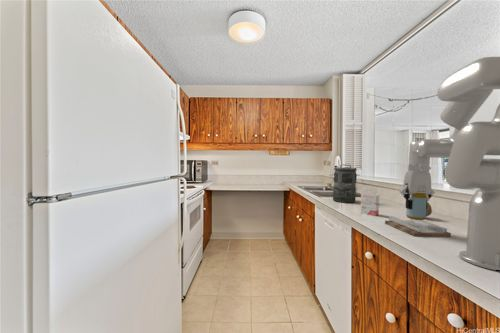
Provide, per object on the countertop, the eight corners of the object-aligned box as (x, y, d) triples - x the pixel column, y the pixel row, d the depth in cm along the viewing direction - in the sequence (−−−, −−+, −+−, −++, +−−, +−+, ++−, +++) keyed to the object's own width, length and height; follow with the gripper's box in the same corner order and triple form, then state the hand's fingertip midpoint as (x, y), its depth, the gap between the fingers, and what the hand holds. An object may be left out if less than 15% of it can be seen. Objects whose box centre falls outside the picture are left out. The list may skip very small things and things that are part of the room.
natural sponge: (407, 216, 128) (407, 198, 128) (417, 215, 131) (418, 198, 131) (424, 220, 120) (425, 201, 119) (434, 219, 123) (435, 201, 122)
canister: (355, 200, 174) (356, 164, 173) (355, 204, 160) (357, 165, 159) (333, 198, 181) (335, 164, 180) (331, 201, 166) (333, 164, 166)
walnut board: (450, 236, 93) (450, 233, 93) (413, 235, 92) (413, 232, 92) (416, 224, 111) (416, 221, 111) (384, 223, 110) (385, 220, 110)
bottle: (409, 215, 106) (411, 184, 106) (427, 219, 101) (429, 185, 100) (403, 217, 102) (405, 184, 102) (422, 221, 96) (424, 186, 96)
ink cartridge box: (378, 214, 128) (380, 189, 128) (375, 216, 125) (377, 189, 125) (363, 212, 135) (364, 187, 134) (359, 213, 132) (361, 188, 131)
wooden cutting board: (446, 233, 93) (447, 228, 93) (417, 232, 92) (418, 228, 92) (413, 221, 111) (413, 217, 110) (388, 220, 110) (388, 216, 110)
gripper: (429, 169, 105) (427, 207, 105) (394, 167, 104) (391, 206, 104) (444, 170, 97) (441, 211, 98) (406, 168, 96) (403, 210, 97)
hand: (416, 208), depth 101 cm, fingers closed on bottle, 6 cm apart
